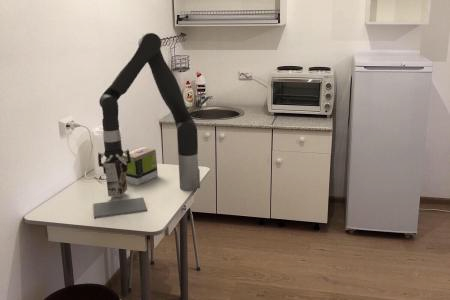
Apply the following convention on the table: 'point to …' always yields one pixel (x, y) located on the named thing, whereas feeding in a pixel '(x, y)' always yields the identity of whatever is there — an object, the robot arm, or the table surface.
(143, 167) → the tea box
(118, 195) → the coffee box
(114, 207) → the mat
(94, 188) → the table surface
